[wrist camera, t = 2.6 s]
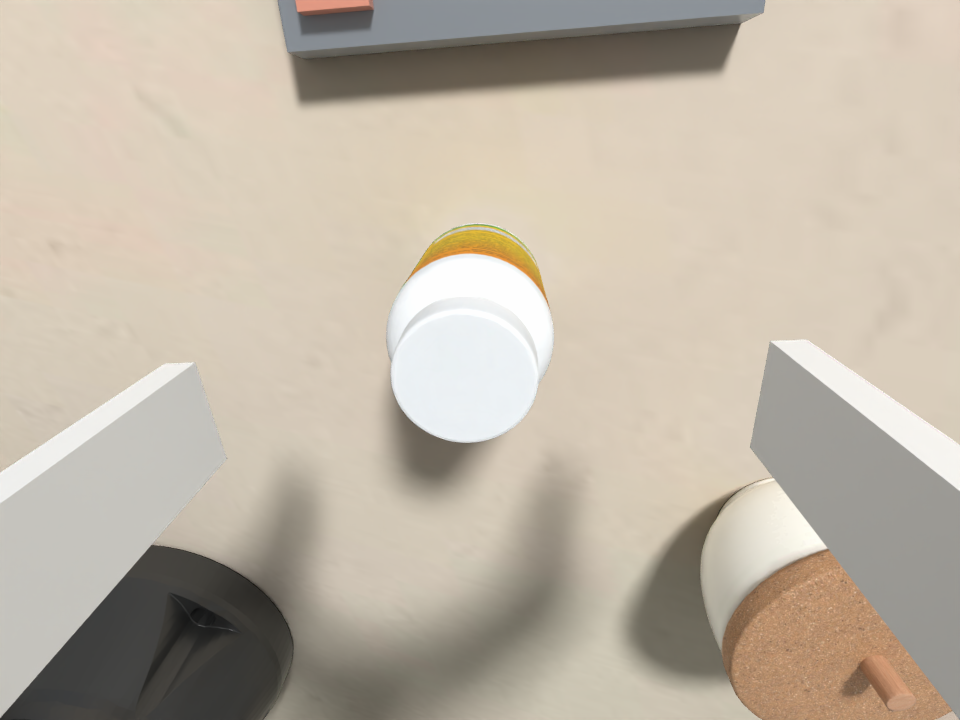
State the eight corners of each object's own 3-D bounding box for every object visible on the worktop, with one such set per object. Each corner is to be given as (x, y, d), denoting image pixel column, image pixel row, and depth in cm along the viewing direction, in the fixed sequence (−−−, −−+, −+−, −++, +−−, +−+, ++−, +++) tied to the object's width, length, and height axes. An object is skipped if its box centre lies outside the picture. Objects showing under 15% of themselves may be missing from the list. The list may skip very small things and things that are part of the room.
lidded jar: (640, 490, 26) (707, 660, 18) (851, 403, 24) (1049, 553, 15) (711, 616, 30) (795, 809, 21) (901, 553, 27) (1083, 743, 19)
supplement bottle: (408, 229, 21) (340, 294, 12) (534, 213, 21) (559, 269, 12) (429, 345, 23) (384, 472, 14) (544, 333, 23) (570, 457, 14)
